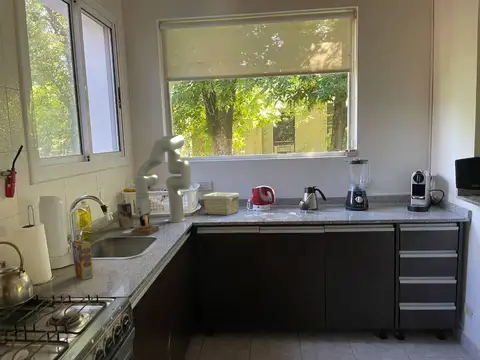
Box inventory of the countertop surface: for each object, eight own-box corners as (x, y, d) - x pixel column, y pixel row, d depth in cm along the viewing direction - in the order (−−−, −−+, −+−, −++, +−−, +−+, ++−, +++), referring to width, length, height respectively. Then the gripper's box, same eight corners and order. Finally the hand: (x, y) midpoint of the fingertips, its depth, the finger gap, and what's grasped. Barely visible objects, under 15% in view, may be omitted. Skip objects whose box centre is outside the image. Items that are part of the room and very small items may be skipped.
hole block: (142, 230, 239) (142, 225, 238) (159, 230, 235) (158, 226, 235) (131, 235, 227) (131, 230, 227) (148, 235, 224) (148, 230, 223)
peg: (144, 230, 234) (142, 214, 233) (149, 230, 232) (148, 214, 231) (140, 232, 230) (139, 216, 229) (146, 232, 229) (145, 216, 228)
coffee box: (133, 225, 255) (131, 202, 253) (133, 227, 249) (131, 204, 247) (119, 227, 252) (117, 204, 251) (119, 229, 246) (116, 205, 245)
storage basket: (203, 213, 283) (201, 194, 281) (217, 210, 296) (215, 191, 294) (227, 216, 269) (226, 195, 267) (241, 211, 281) (239, 192, 280)
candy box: (94, 277, 156) (90, 241, 154) (84, 280, 153) (80, 244, 151) (84, 273, 162) (81, 238, 160) (74, 276, 159) (70, 241, 157)
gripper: (144, 193, 238) (146, 221, 240) (129, 198, 222) (131, 228, 224) (154, 193, 236) (157, 221, 237) (139, 197, 220) (142, 228, 222)
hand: (144, 224), depth 231 cm, fingers closed on peg, 4 cm apart
